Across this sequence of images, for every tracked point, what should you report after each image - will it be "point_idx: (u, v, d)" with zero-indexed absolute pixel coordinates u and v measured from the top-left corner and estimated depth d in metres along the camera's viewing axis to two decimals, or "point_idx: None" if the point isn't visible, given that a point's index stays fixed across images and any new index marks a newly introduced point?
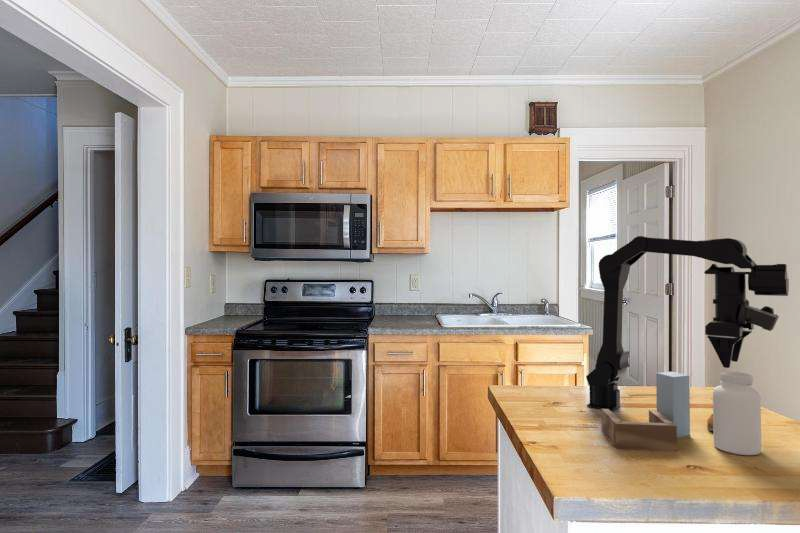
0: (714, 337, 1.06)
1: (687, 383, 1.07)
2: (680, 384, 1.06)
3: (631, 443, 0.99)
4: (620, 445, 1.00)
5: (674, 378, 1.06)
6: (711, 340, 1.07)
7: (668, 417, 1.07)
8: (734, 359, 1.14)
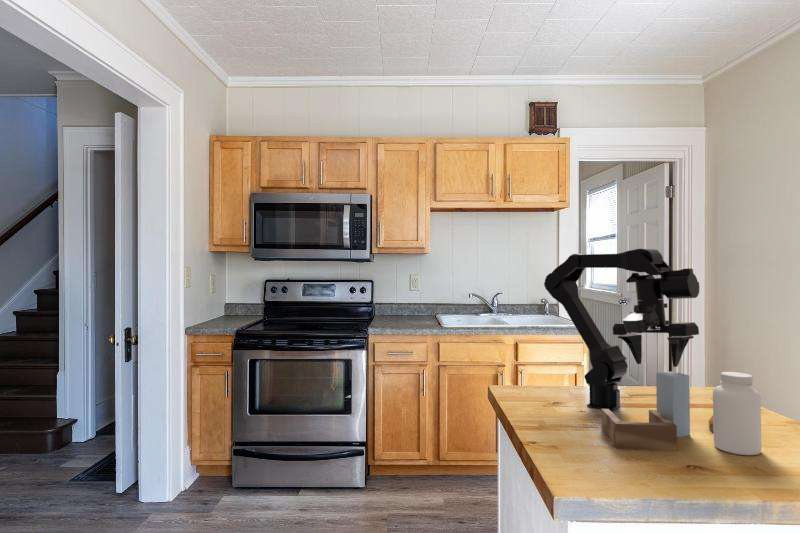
0: None
1: (687, 383, 1.07)
2: (680, 384, 1.06)
3: (631, 443, 0.99)
4: (620, 445, 1.00)
5: (674, 378, 1.06)
6: None
7: (668, 417, 1.07)
8: None
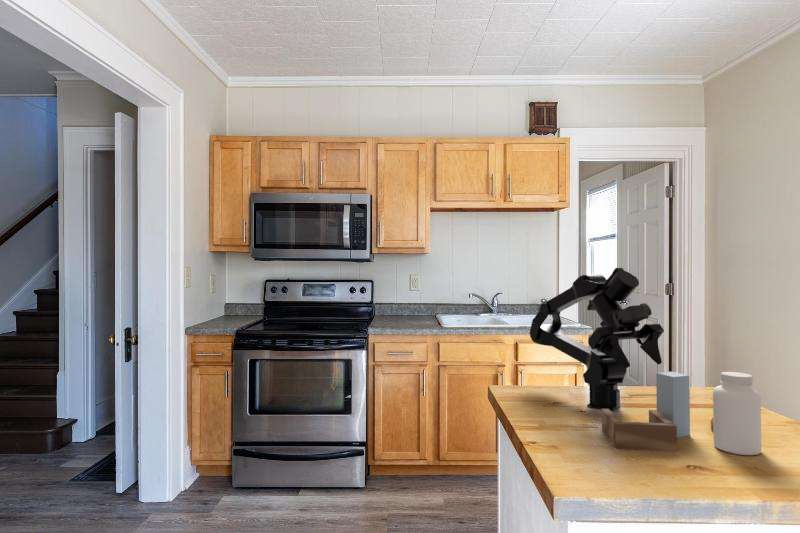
0: (599, 347, 1.20)
1: (687, 383, 1.07)
2: (680, 384, 1.06)
3: (631, 443, 0.99)
4: (620, 445, 1.00)
5: (674, 378, 1.06)
6: (603, 352, 1.20)
7: (668, 417, 1.07)
8: (658, 361, 1.18)
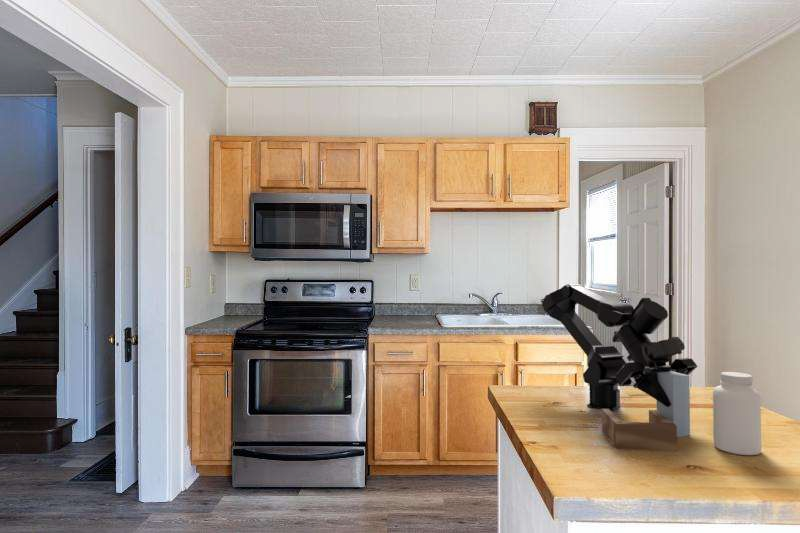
0: (635, 383, 1.11)
1: (687, 383, 1.07)
2: (680, 384, 1.06)
3: (631, 443, 0.99)
4: (620, 445, 1.00)
5: (674, 378, 1.06)
6: (640, 388, 1.11)
7: (668, 417, 1.07)
8: None
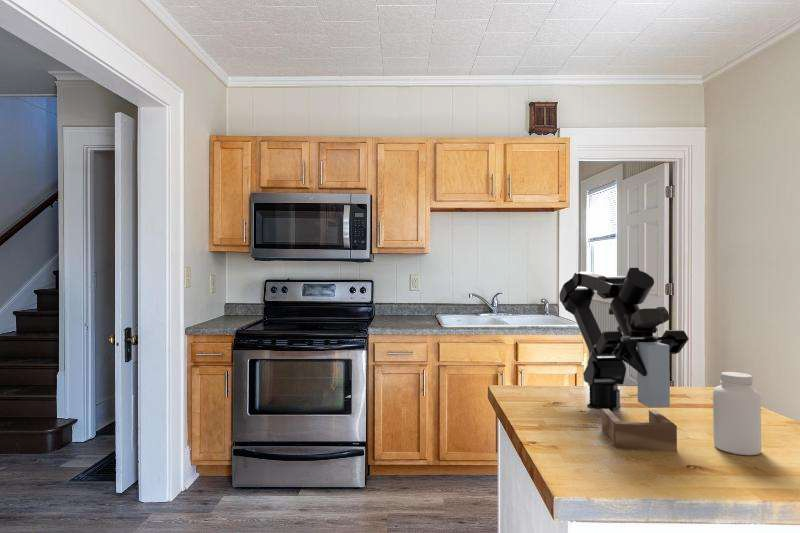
0: (616, 353, 1.10)
1: (666, 353, 1.04)
2: (658, 353, 1.04)
3: (631, 443, 0.99)
4: (620, 445, 1.00)
5: (650, 347, 1.04)
6: (622, 358, 1.10)
7: (645, 387, 1.05)
8: None
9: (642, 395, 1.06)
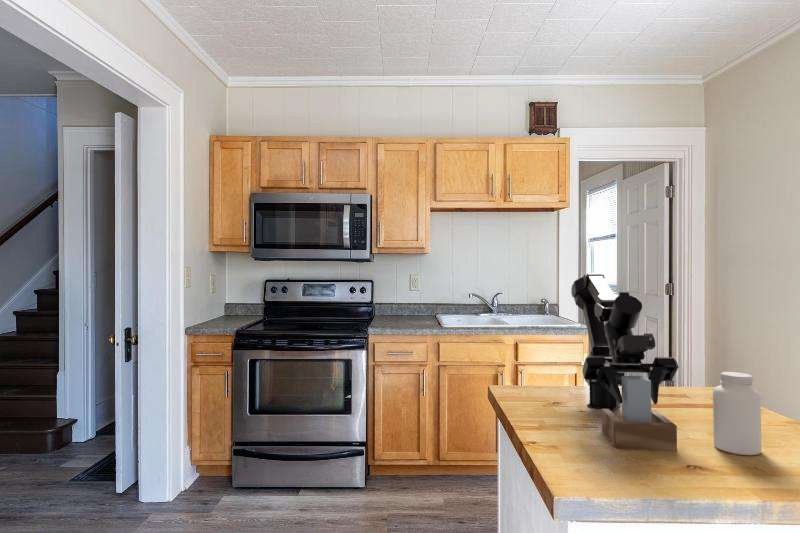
0: (596, 378, 1.10)
1: (647, 389, 1.02)
2: (638, 388, 1.03)
3: (631, 443, 0.99)
4: (620, 445, 1.00)
5: (629, 381, 1.03)
6: (602, 383, 1.10)
7: None
8: (654, 401, 1.03)
9: None
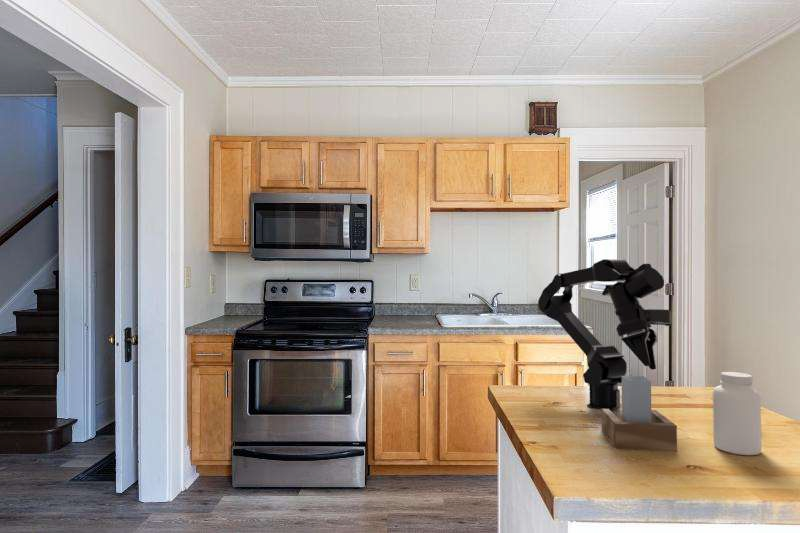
0: (627, 337, 1.13)
1: (647, 389, 1.02)
2: (638, 389, 1.02)
3: (631, 443, 0.99)
4: (620, 445, 1.00)
5: (630, 382, 1.03)
6: (626, 342, 1.14)
7: None
8: (652, 367, 1.20)
9: None
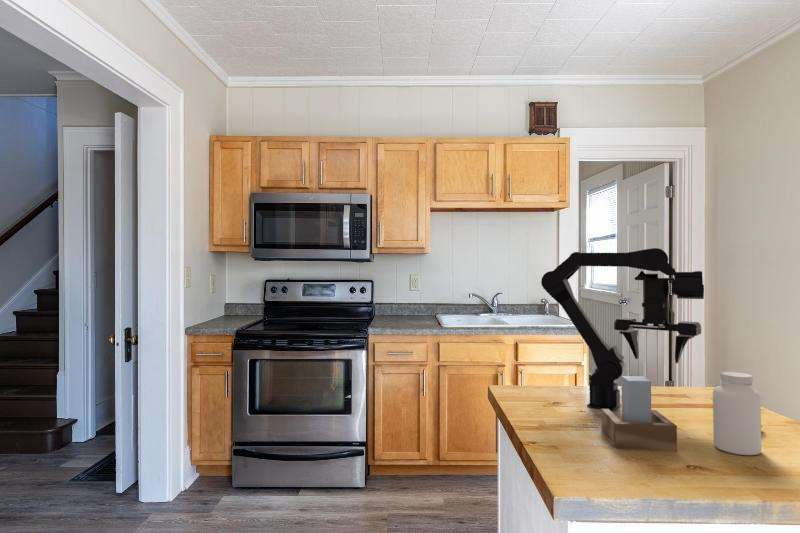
0: (690, 337, 1.17)
1: (647, 389, 1.02)
2: (638, 389, 1.02)
3: (631, 443, 0.99)
4: (620, 445, 1.00)
5: (630, 382, 1.03)
6: None
7: None
8: (637, 356, 1.27)
9: None
